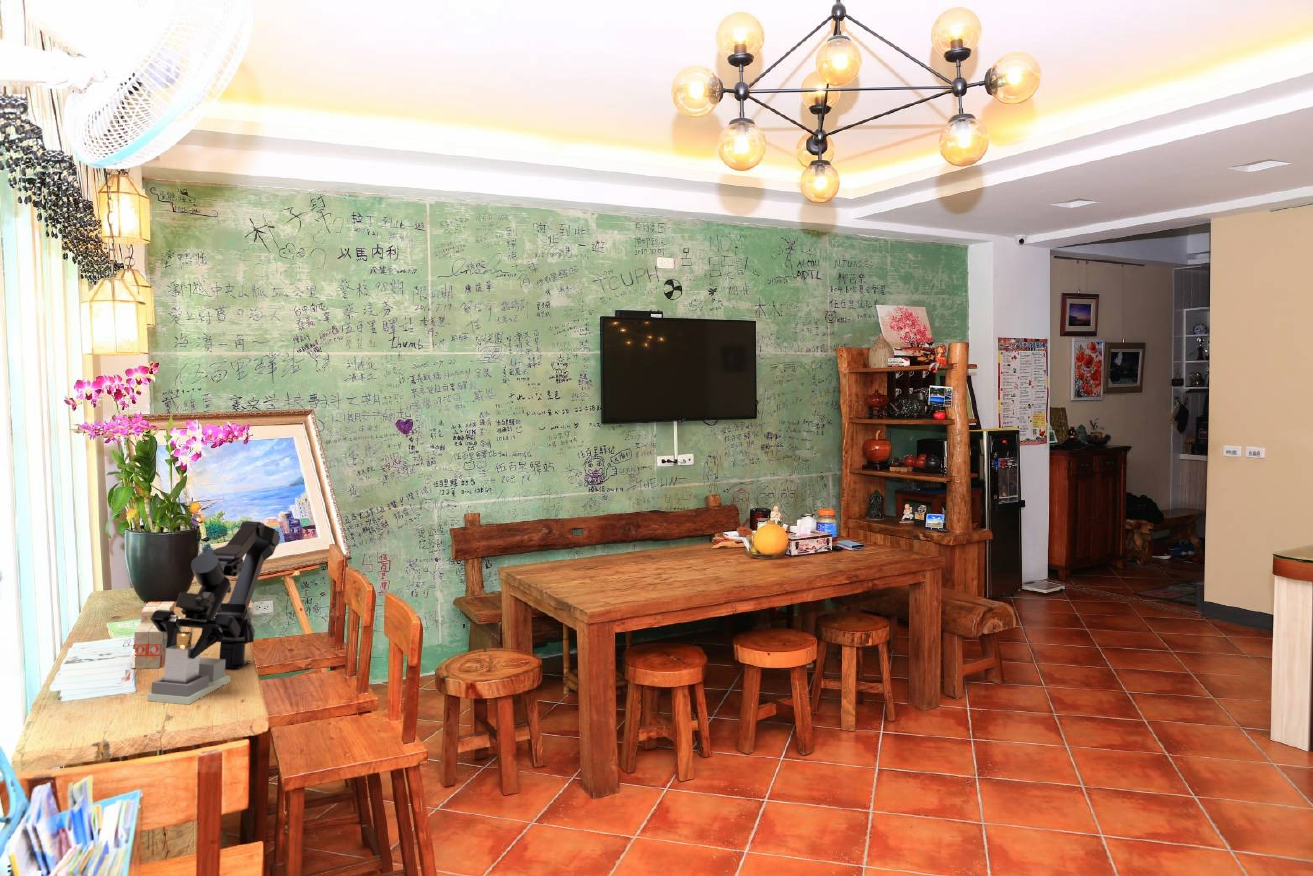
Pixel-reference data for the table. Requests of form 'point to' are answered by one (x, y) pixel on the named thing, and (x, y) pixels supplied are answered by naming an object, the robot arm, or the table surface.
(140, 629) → the stack of blocks
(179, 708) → the table surface
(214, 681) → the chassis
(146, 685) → the table surface
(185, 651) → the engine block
